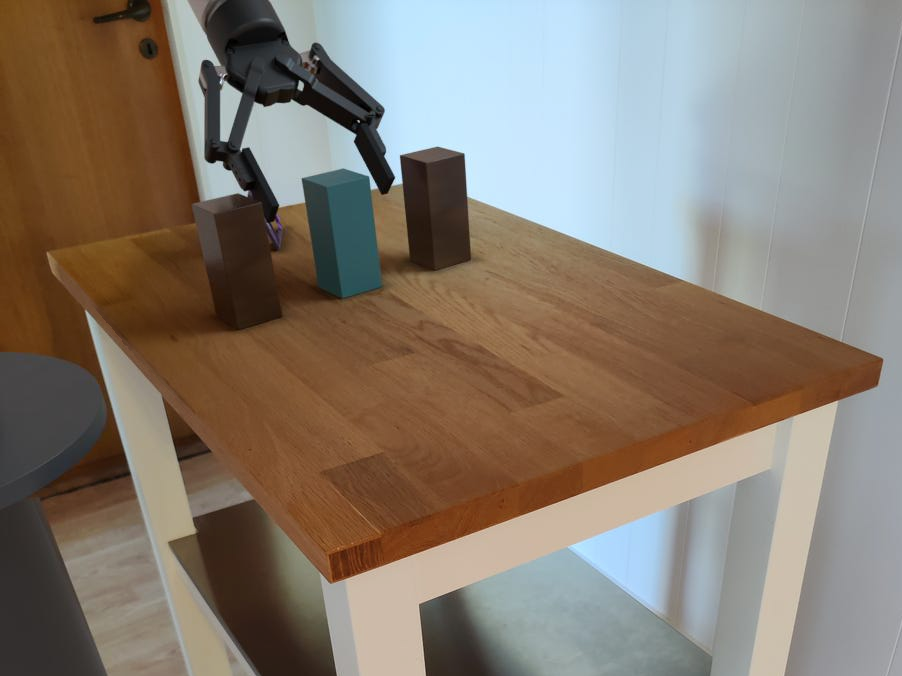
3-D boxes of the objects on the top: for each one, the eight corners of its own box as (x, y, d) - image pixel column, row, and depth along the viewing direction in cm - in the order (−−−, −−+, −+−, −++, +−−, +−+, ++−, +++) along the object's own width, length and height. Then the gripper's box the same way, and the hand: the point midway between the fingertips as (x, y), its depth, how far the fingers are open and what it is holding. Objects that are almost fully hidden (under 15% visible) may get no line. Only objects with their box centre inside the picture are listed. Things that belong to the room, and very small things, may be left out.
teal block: (342, 298, 104) (326, 186, 97) (318, 287, 107) (301, 178, 100) (382, 286, 106) (369, 176, 99) (357, 275, 109) (343, 168, 102)
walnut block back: (434, 270, 109) (425, 162, 102) (409, 260, 112) (399, 155, 105) (471, 259, 111) (464, 153, 104) (445, 250, 114) (437, 146, 108)
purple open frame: (255, 191, 114) (260, 172, 121) (215, 211, 114) (223, 191, 121) (285, 246, 118) (288, 225, 125) (246, 265, 118) (251, 243, 125)
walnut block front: (238, 330, 98) (213, 213, 91) (216, 317, 101) (190, 203, 95) (282, 316, 100) (262, 202, 94) (260, 304, 104) (238, 192, 97)
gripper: (333, 30, 111) (421, 197, 110) (119, 64, 100) (215, 249, 99) (351, -25, 104) (444, 152, 104) (123, 4, 93) (227, 203, 92)
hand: (332, 200), depth 101 cm, fingers open, 13 cm apart
